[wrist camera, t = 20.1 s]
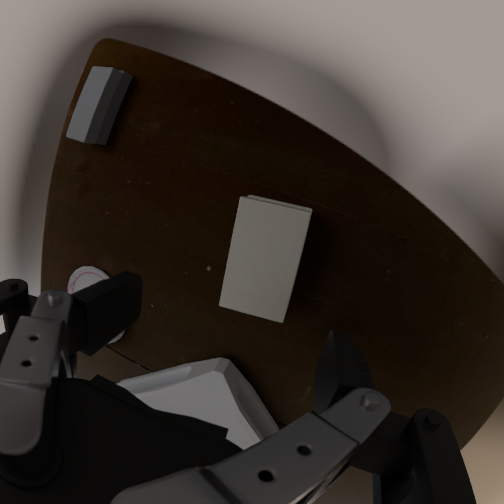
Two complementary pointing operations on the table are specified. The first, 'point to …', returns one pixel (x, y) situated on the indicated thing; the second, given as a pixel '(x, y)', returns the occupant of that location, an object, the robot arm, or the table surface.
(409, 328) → the table surface
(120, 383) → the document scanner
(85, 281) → the teacup
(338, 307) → the table surface
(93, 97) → the gray block
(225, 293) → the light grey rectangular block
